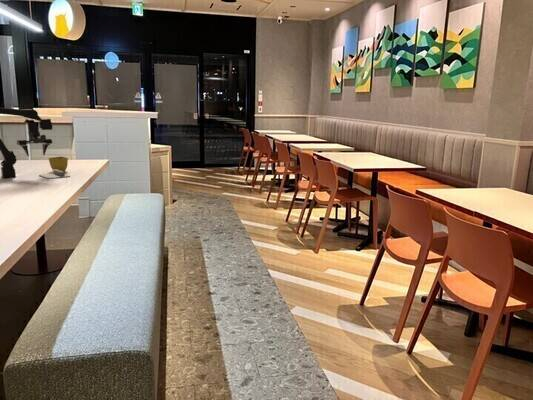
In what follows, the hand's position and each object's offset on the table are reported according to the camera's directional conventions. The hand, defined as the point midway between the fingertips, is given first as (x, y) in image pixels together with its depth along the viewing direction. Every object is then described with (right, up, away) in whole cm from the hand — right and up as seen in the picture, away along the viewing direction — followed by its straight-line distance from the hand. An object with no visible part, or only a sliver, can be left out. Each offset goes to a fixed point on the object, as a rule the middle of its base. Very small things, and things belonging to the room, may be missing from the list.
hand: (36, 155), depth 269 cm
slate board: (+12, -13, -1) cm, 17 cm away
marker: (+13, -12, +2) cm, 18 cm away
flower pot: (+6, -9, +17) cm, 20 cm away
